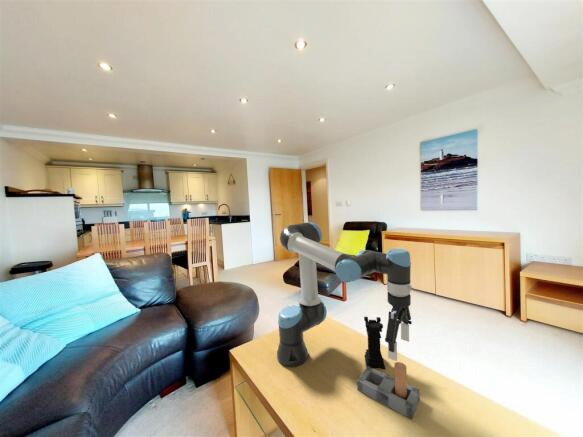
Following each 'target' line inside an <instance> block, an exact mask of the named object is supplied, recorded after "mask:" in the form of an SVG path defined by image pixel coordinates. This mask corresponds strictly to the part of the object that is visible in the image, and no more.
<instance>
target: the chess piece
mask: <svg viewBox="0 0 583 437" xmlns="http://www.w3.org/2000/svg"><path fill="white" fill-rule="evenodd" d="M363 320H364V322H365V325H364V326H365V329H366V330H365V331H366V335H367V349H365V352H364V353H365V354H364V362H365V367H366V368H367V367H368V366H369V367H371V368H373V369H375V370H386V365H385V363H384V362H385V361H384V359H383V355H382V351H381V339H382V335H381V333H382V332H383V328H384V324H383V323H382V322H381V320H382V319H381V317H380V316H377V317H376V319H369V317H368V316H363ZM366 368H365V369H366Z"/></svg>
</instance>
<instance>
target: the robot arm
mask: <svg viewBox="0 0 583 437" xmlns="http://www.w3.org/2000/svg"><path fill="white" fill-rule="evenodd" d="M322 239H323V234H322V231H321V228H320V227H319V225H318V224H317V223H315V222H311V221H310V222H301V223H296V224H289V225H287V226H285V227H284V228H283V229H282V230H281V232H280V235H279V241H280V245H281V246H282V247H283V249H285V250H286V251H288V252H290V253H293V254H295V253H298V259H299V260H298V262H299V276H300V290H301V291H300V292H301V297H300V298H299V300H298V303H299V304H298V305H299V306H298V305H291V306H290V305H289V306H286V307H284V308H282V309H281V310H280V311H279V314H278V319H277V320H278V321H277V323H278V332H279V333H278V335H279V343H278V349H277V351H276V352H277V353H276V357H277V358H276V359H277V362H278V363H279V364H280V365H282V366H285V367H287V368H288V367H289V368H290V367H298V366H299V367H300V366H301V365H303V364H304V363H305V362H306V361H307V360H308V356H309V355H308V354H309V353H308V352H309V351H308V348H307V346H306V344H305V341H304V333H305V332H306V331H308V330H311V329H312V328H314V327H316V326H319V325H320V324H321V323H323V322H324V321H325V320H326V318H327V307H326V306H325V303H324V301H322V298H321V297H320V296H319V291H318V275H317V274H318V273H317V271H318V270H317V264H319V265H321V266H323V267H325V268H328V269H330V270H331V271H334V272H335V274H336V276H337V278H338V279H339V280H340V281H342V282H343V283H350V282H355V281H357V280H359V279H361V278H363V277H366V276H367V275H369V274H373V273H378V274H383V275H386V280H387V281H386V284H387V285H386V286H387V287H386V289H387V302H388V304H389V305H390V306H392V308H391V311H388V321H387V326H386V333H385V338H384V342H385V343H387V352H388V353H387V358H388V359H390V360H393V361H395V362H398V342H397V338H398V333H399V329H400V339H401V340H403V341H405V342H407V343H408V342H410V325H412V324H413V323H412V322H413V321H411V320H412V317H411V311H410V306H411V303H412V302H411V300H412V298H411V296H412V295H411V290H412V289H413V286H412V285H411V270H412V269H411V265H412V262H411V254H410V251H408V250H407V249H403V248H391V249H388V250H387V251H386V252H385V253H384V252H379V251H373V250H369V249H367V250H366V249H362V250H360V251H359V252H358V253H356V256H351V255H349V254H346V253H344V252H341V251H338V250H336V249H335V248H332V247H329V246H327V245H324V244H321V243H320V242H321V241H322Z"/></svg>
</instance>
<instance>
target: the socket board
mask: <svg viewBox="0 0 583 437" xmlns="http://www.w3.org/2000/svg"><path fill="white" fill-rule="evenodd" d="M372 382H374V383H375V384H374V383H372ZM376 384H377V385H376ZM356 387H357V388H356V390H357V391H359V392H361V393H363V394H364V395H366V396H368V397H369V398H372V399H374V400H375V401H377V402H380V403H381V404H382V405H385V406H387V407H388V408H390V409H392V410H394V411H396V412H398V413H399V414H401V415H402V416H405V417H407V419H411V420H412V419H413V417H414V416H415V413H416V410H417V407H418V406H419V405H418V404H419V402H420V399H421V398H420V395H421V394H420V389H419V388H416V387H415V386H412V385H410V384H408V383H407V401H406V400H404V399H402V398H400V397H398V396H396V395H395V377H393V376H390V375H388V374H386V373H384V372H381V370H380V371H379V370H378V369H373V368H371V367H369V366H368V367H367V368H365V369H364V371H363V372H362V373H361V375H360V376H359V377H358V378H357V380H356Z"/></svg>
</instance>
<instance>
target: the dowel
mask: <svg viewBox="0 0 583 437" xmlns="http://www.w3.org/2000/svg"><path fill="white" fill-rule="evenodd" d="M393 367H394V378H395V395H396V396H398V397H400V398H402V399H404V400H406V401H407V384H408V381H407V379H408V378H407V376H408V375H407V374H408V373H407V372H408V371H407V365H406V364H405V363H403V362H400V361H395V363H394V366H393Z"/></svg>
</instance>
